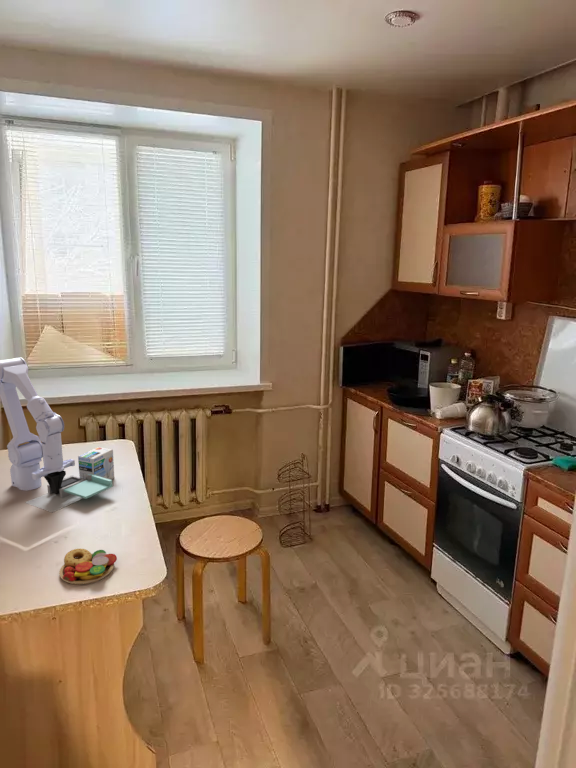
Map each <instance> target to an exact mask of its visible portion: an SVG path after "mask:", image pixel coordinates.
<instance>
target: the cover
mask: <svg viewBox="0 0 576 768" xmlns="http://www.w3.org/2000/svg"><path fill="white" fill-rule="evenodd" d="M113 486H114V485H113V479H111V480H110V479H106V478H103V477H100V476H96V475H93V474H88V475H87V480H85V481H83V482H81V483H78V484H76V485H74V486H71V487H69V488H66V489H64V492H66V493H69V494H73V495H76V496H79V497H82V498H83V499H85V500H87V499H89V498H91V497H93V496H95V495H97V494H100V493H103V492H104V491H106V490H109V489H110V488H111V489H112V488H113Z"/></svg>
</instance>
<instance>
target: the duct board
mask: <svg viewBox="0 0 576 768" xmlns="http://www.w3.org/2000/svg"><path fill="white" fill-rule="evenodd" d="M69 479H74V480H77V482H75V483H73V484H70V485H68V486H66V487H63V488H61V489H59V491H60V494H54V493H52V490H51V488H50V486H49V484H47V493H45V494H42V495H40V496H38V497H35V498H33V499H30V500H28V501H25V502H24V504H27V505H30V506H33V507H35V508H39V509H41V510H43V511H47V512H49V513H55V512H57V511H60V510H61V509H64V508H65V507H67V506H70V505H72V504H75V503H77V502H79V501H81V500H83V499H84V498H82V497H79V496H76V495H73V494H69V493H66V492H64V489H66V488H69V487H71V486H74V485H76V484H78V483H81V482H83V481H85V479H82V478H80V476H79V477H78V476H74V475H70V476H67V477H64V478H63V481H62V482H64V481H67V480H69Z"/></svg>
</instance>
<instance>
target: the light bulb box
mask: <svg viewBox="0 0 576 768" xmlns="http://www.w3.org/2000/svg"><path fill="white" fill-rule="evenodd" d="M77 460H78V472H79V473H78V475H79V478H82V479H85V480H87V475H88V474H93V475H96V476H100V477H103V478H106V479H110V480H113V479H115V465H114V450H113V448H112V449H111V448H106V447H101V446H97V447H94V448H93V449H91V450H89V451H87V452H85V453H82V454H80V455H78V456H77Z"/></svg>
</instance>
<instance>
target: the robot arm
mask: <svg viewBox="0 0 576 768" xmlns="http://www.w3.org/2000/svg"><path fill="white" fill-rule="evenodd" d="M17 389H18V391H19V392H20V394H21V395H22V396H23V397H24V399H25V400H26V401H27V403H26V408H27V410H28V412H29V413H30V415H31V416H32V417H33V420H34V421H35V423H36V426H35V429H36V432H37V434H38V435H36V434H34V433H32V432H30V427H29V426H28V422H27V419H26V416H25V413H24V409H23V407H22V403H21V401H20V398H19V395H18V391H17ZM0 400H1V403H2V407H3V409H4V413H5V416H6V419H7V423H8V426H9V428H10V431H11V434H12V438H11V439H10V441H9V442H8V443H7V445H6V448H7V451H8V453H7V454H8V460H9V461H10V463H11V465H10V466H11V467H10V469H9V470H10V471H9V472H10V481H11V482H10V483H11V486H12V487H15V488H17V489H18V490H20V491H32V490H36V489H38V488H40V487H41V486H42V478H44V479H45V480H46V482H47V483H48V484H47V485H49V486H50V488H51V490H52V493H54V494H59V493H60V491H59V489H60V488H61V484H62V481H63V479H64V478H66V477H65V476H66V474H67V472H66V470H65V469H67V468H69V467H74V466H75V465H76V462H75V461H76V460H75V459H72V458H70V459H66V460H64V457H63V444H62V432H64V430H65V421H64V420H63V418H62V416H61V415H59V414H57V413H56V412H55V411H53V410H52V409H51V407H50V405H49V403H48V402H47V401H46V399H45V398H44V397H43V396H39V395H38V392H37V391H36V389H35V387H34V385H33V383H32V381H31V379H30V377H29V366H28V364H27V362H26V360H25V359H24V358H23V357H21V356H18V357H14V358H9V359H6V358H5V359H0ZM42 459H43V466H42V467H41V463H40V462H42Z"/></svg>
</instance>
